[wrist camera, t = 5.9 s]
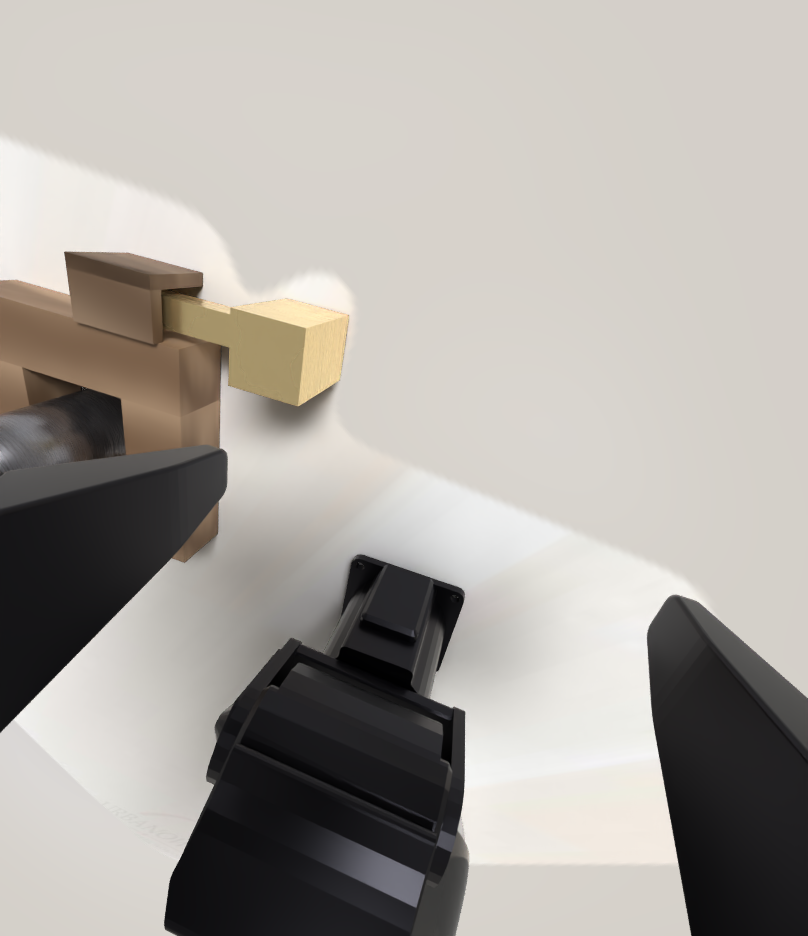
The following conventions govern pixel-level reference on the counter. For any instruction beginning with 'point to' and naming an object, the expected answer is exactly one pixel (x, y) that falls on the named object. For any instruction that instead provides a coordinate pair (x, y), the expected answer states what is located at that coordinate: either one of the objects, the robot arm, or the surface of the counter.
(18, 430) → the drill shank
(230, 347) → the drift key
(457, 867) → the pump dispenser
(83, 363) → the socket block
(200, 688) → the counter surface
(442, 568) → the counter surface
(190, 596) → the counter surface
